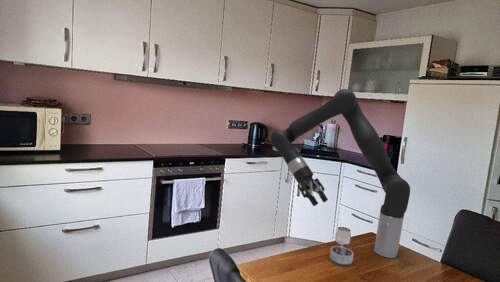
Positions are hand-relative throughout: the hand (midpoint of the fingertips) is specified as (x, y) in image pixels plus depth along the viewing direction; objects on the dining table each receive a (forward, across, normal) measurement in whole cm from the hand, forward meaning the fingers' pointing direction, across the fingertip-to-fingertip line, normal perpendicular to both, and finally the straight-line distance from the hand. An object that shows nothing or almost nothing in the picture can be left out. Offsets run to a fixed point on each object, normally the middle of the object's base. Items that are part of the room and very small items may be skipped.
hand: (321, 203), depth 138 cm
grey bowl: (+22, -1, +6) cm, 23 cm away
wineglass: (+22, -1, +6) cm, 22 cm away
